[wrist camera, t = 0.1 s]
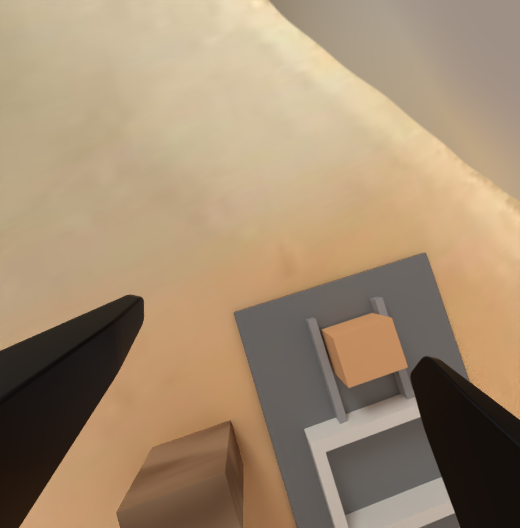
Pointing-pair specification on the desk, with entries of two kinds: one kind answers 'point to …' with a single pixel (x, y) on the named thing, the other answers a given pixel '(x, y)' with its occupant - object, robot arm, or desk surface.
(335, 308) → the grey base board
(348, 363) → the block
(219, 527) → the block
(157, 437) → the desk surface
